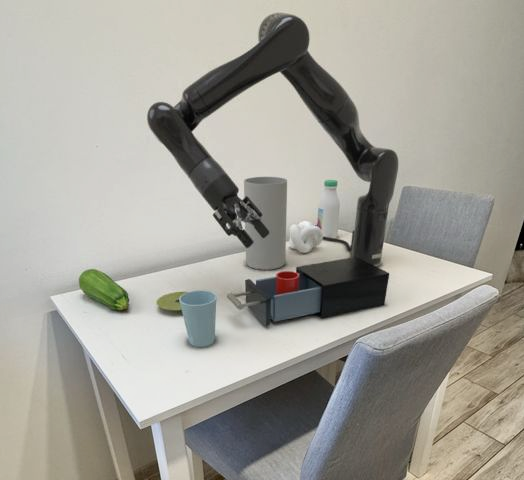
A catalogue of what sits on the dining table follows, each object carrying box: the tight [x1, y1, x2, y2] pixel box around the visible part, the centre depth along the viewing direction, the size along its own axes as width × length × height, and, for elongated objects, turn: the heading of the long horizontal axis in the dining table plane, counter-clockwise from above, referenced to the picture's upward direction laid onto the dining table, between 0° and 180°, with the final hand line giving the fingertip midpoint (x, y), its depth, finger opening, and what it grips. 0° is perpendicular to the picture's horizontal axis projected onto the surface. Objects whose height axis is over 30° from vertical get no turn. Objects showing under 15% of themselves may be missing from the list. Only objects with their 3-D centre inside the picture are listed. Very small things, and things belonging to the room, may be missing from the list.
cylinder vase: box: [243, 176, 288, 271], centre depth 128 cm, size 12×12×25 cm
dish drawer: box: [226, 273, 322, 327], centre depth 101 cm, size 23×12×7 cm, turn 114°
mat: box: [156, 291, 189, 311], centre depth 107 cm, size 11×11×2 cm
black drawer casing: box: [295, 257, 390, 320], centre depth 107 cm, size 19×14×9 cm
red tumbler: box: [275, 270, 299, 295], centre depth 101 cm, size 5×5×8 cm
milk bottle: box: [316, 179, 341, 239], centre depth 154 cm, size 8×8×20 cm
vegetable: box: [78, 268, 130, 311], centre depth 108 cm, size 7×7×20 cm
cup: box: [179, 289, 218, 348], centre depth 90 cm, size 8×8×10 cm
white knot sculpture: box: [288, 220, 323, 254], centre depth 143 cm, size 11×12×9 cm
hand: (259, 240), depth 98 cm, fingers open, 8 cm apart
